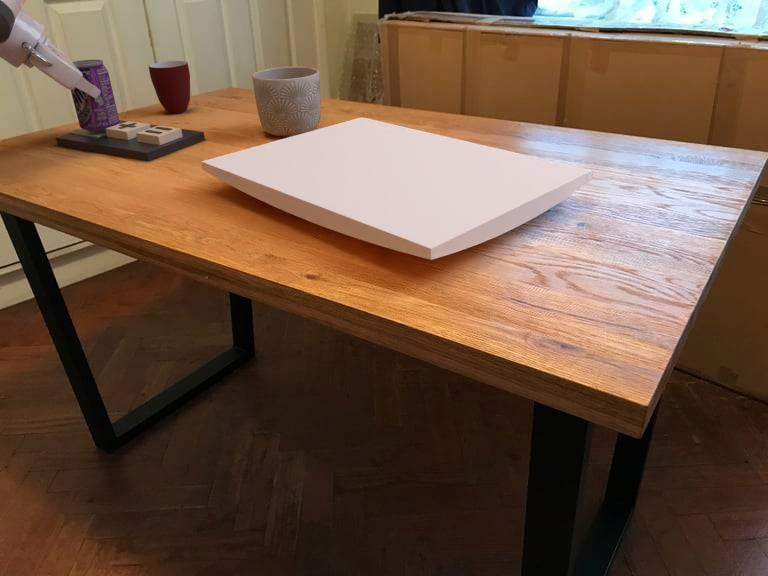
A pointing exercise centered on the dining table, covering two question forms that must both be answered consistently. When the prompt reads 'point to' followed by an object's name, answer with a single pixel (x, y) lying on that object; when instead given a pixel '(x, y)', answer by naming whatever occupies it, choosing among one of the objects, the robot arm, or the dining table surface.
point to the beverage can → (95, 110)
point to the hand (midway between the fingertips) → (95, 90)
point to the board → (400, 185)
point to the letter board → (132, 140)
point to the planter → (288, 100)
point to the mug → (171, 85)
